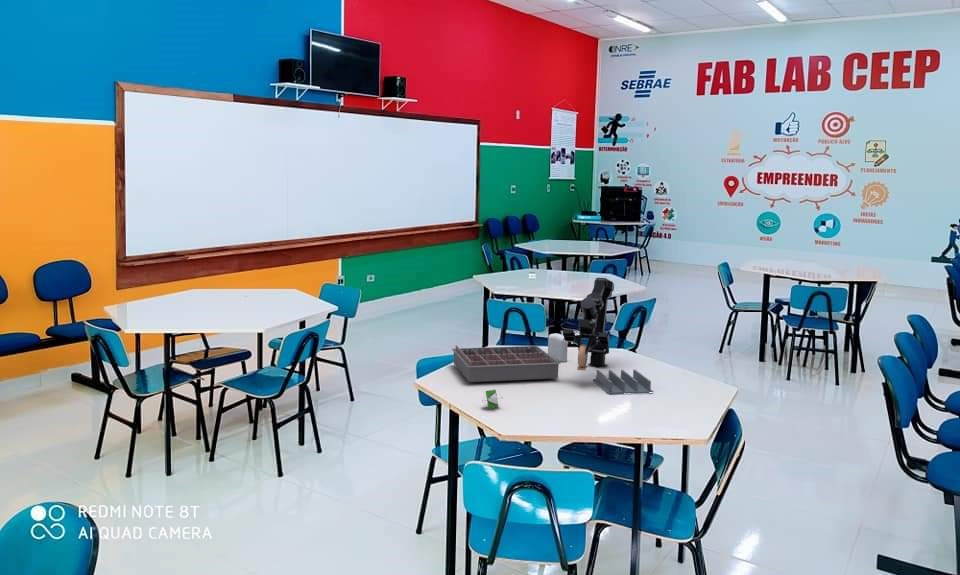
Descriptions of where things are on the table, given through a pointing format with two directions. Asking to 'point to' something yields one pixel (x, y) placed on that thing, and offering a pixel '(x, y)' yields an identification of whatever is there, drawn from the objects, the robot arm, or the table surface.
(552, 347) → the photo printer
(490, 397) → the geometric puzzle
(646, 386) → the dish rack
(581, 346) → the peach disc
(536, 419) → the table surface
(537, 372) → the organizer tray
